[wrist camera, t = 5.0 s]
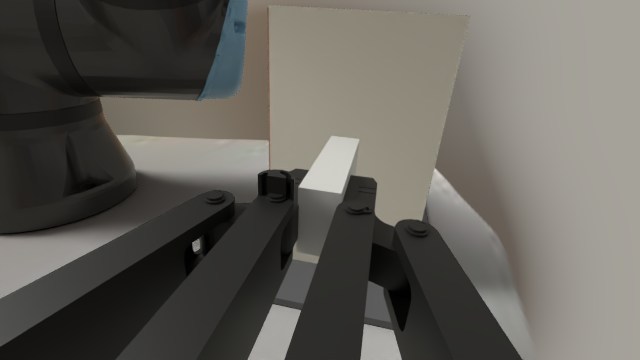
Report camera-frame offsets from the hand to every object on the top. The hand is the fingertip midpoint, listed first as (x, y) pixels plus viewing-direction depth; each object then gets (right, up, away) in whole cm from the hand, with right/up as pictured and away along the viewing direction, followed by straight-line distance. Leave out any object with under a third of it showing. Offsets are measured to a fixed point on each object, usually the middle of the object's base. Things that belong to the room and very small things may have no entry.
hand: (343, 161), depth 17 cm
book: (0, -7, +9) cm, 12 cm away
